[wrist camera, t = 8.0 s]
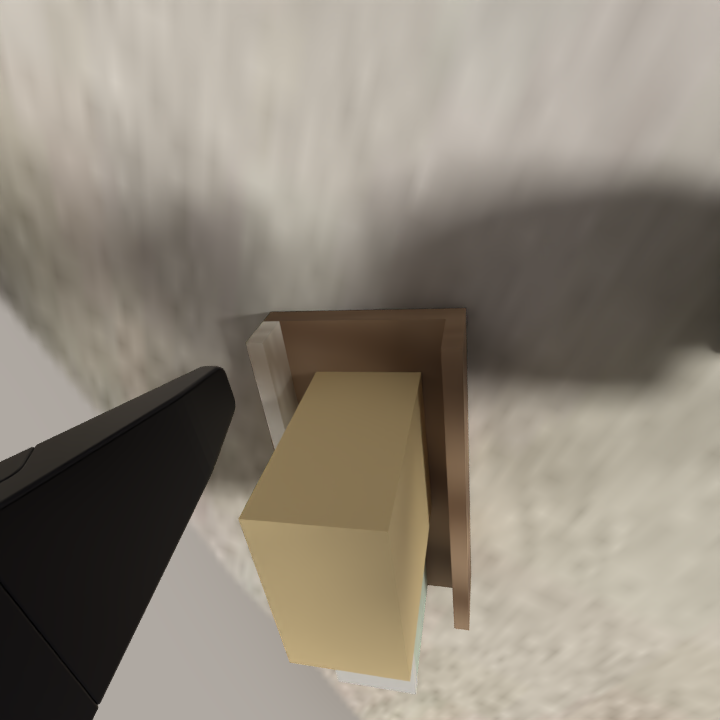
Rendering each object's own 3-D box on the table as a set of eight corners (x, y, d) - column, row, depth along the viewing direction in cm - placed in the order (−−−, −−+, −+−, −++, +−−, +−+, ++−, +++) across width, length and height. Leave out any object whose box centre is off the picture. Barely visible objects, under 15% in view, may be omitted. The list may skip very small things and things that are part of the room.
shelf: (471, 575, 31) (469, 630, 28) (326, 559, 33) (310, 608, 30) (466, 308, 22) (462, 348, 19) (266, 312, 24) (236, 348, 21)
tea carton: (431, 505, 27) (410, 681, 20) (340, 499, 28) (287, 661, 21) (421, 372, 23) (388, 531, 15) (313, 371, 24) (235, 518, 17)
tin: (424, 539, 29) (410, 648, 23) (428, 585, 31) (416, 694, 25) (354, 533, 30) (326, 636, 24) (362, 577, 32) (338, 681, 26)
